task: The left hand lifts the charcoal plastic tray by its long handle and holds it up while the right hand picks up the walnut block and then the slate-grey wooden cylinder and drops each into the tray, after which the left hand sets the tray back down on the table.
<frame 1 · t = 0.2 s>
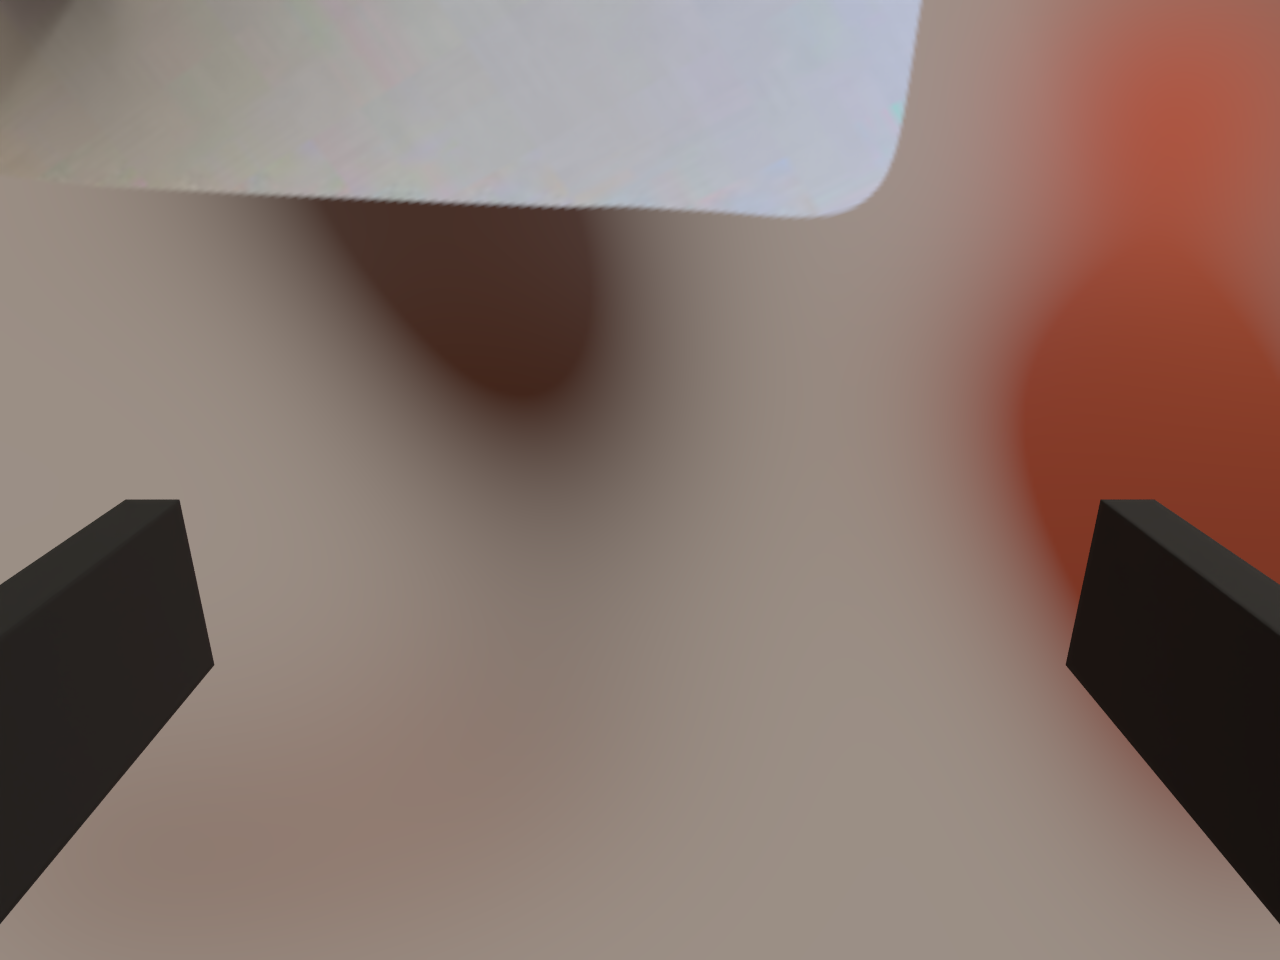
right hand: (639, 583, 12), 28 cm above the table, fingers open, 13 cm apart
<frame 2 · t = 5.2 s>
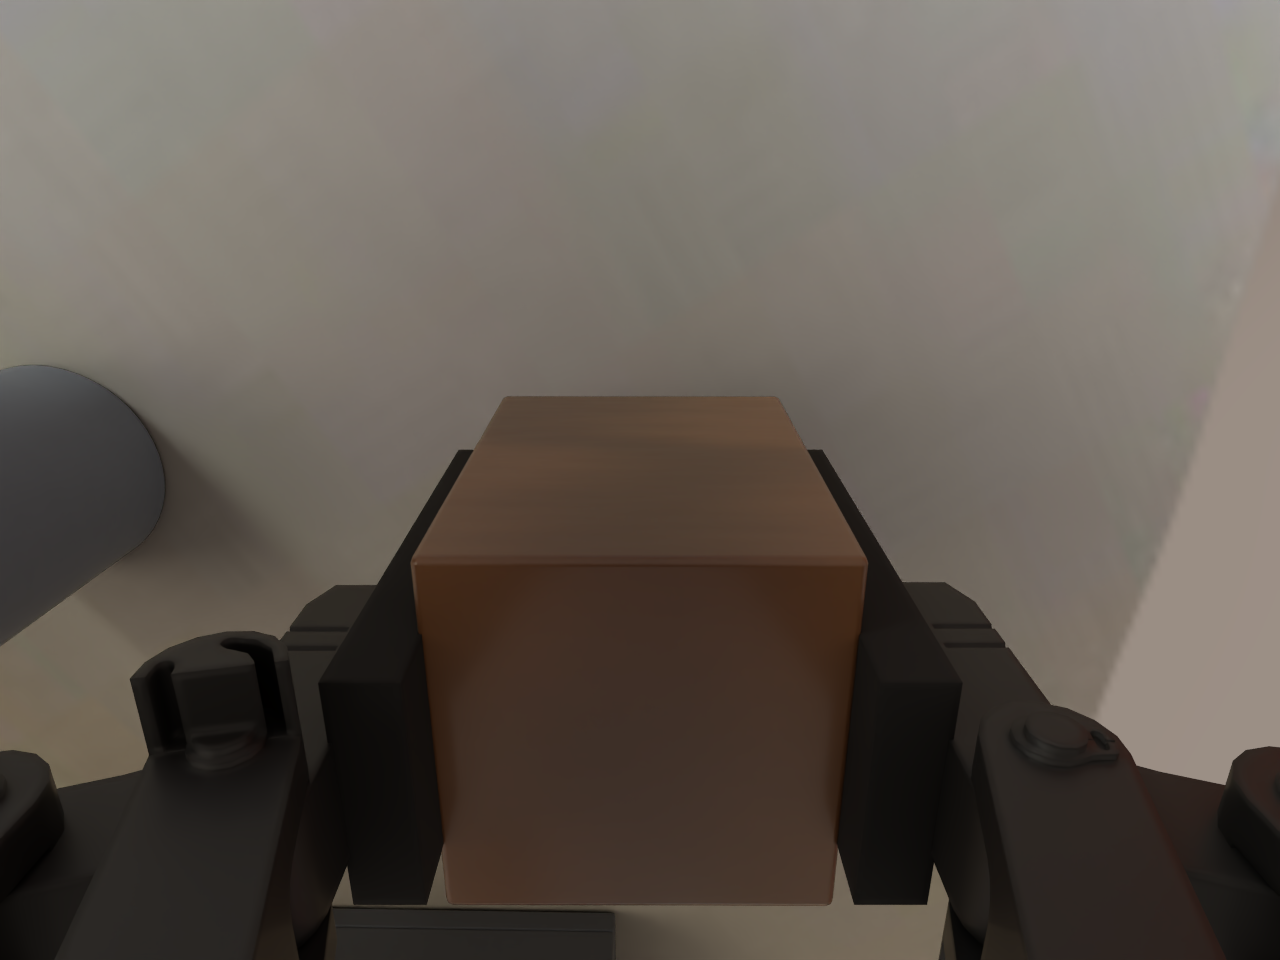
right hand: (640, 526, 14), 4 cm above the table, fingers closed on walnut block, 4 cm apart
grey cylinder: (60, 467, 18), on the table
walnut block: (640, 521, 15), point 3 cm above the table, touching right hand
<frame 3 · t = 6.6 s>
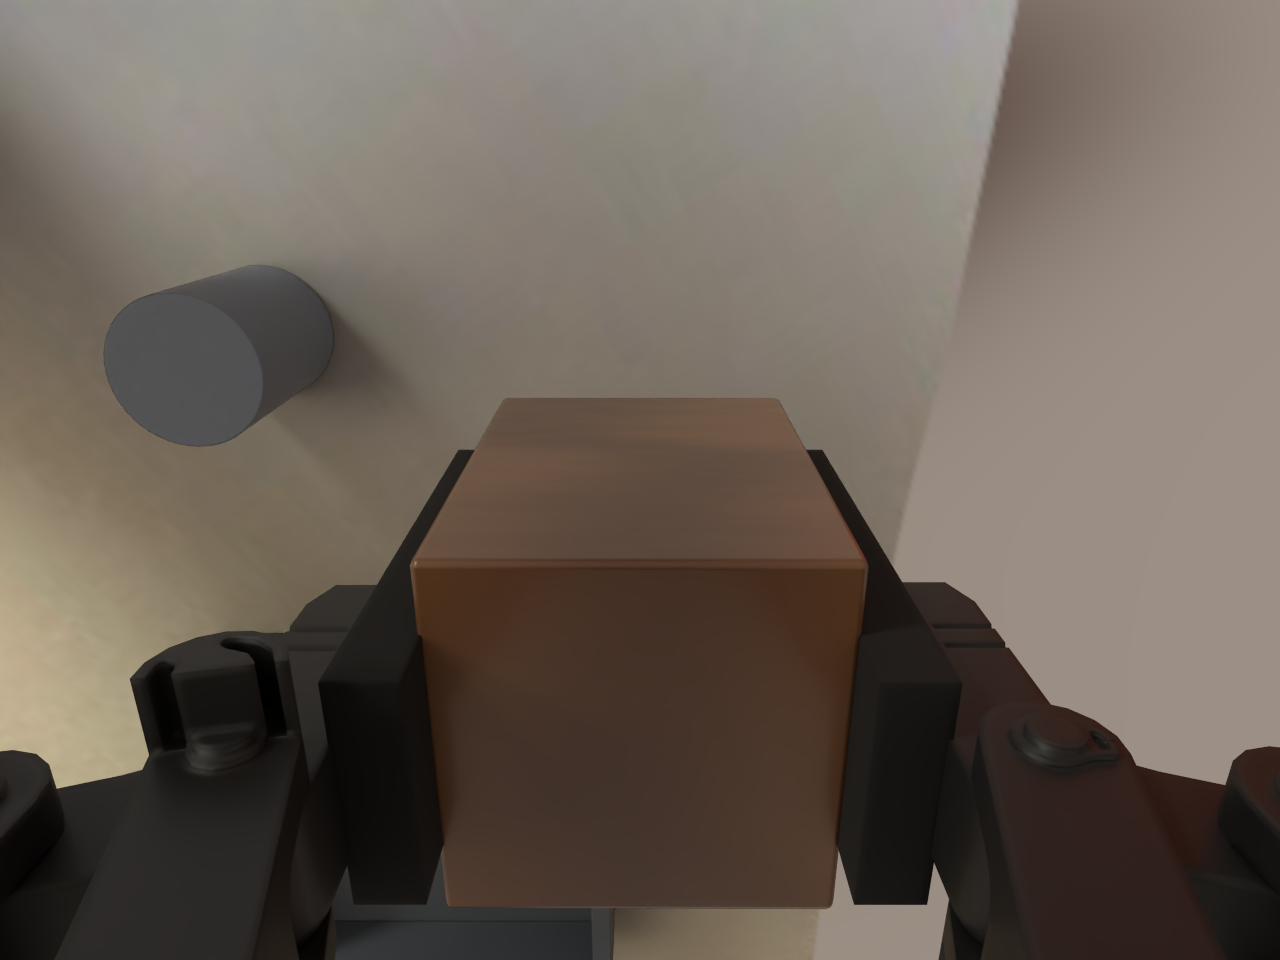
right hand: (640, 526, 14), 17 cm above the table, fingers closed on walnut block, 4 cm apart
grey cylinder: (269, 330, 30), on the table
tray: (433, 788, 37), on the table, touching left hand
walnut block: (640, 523, 15), point 16 cm above the table, touching right hand
when the right hand's fingers open (17 cm above the table, at t = 10.8 s): walnut block drops 5 cm, resting on tray.
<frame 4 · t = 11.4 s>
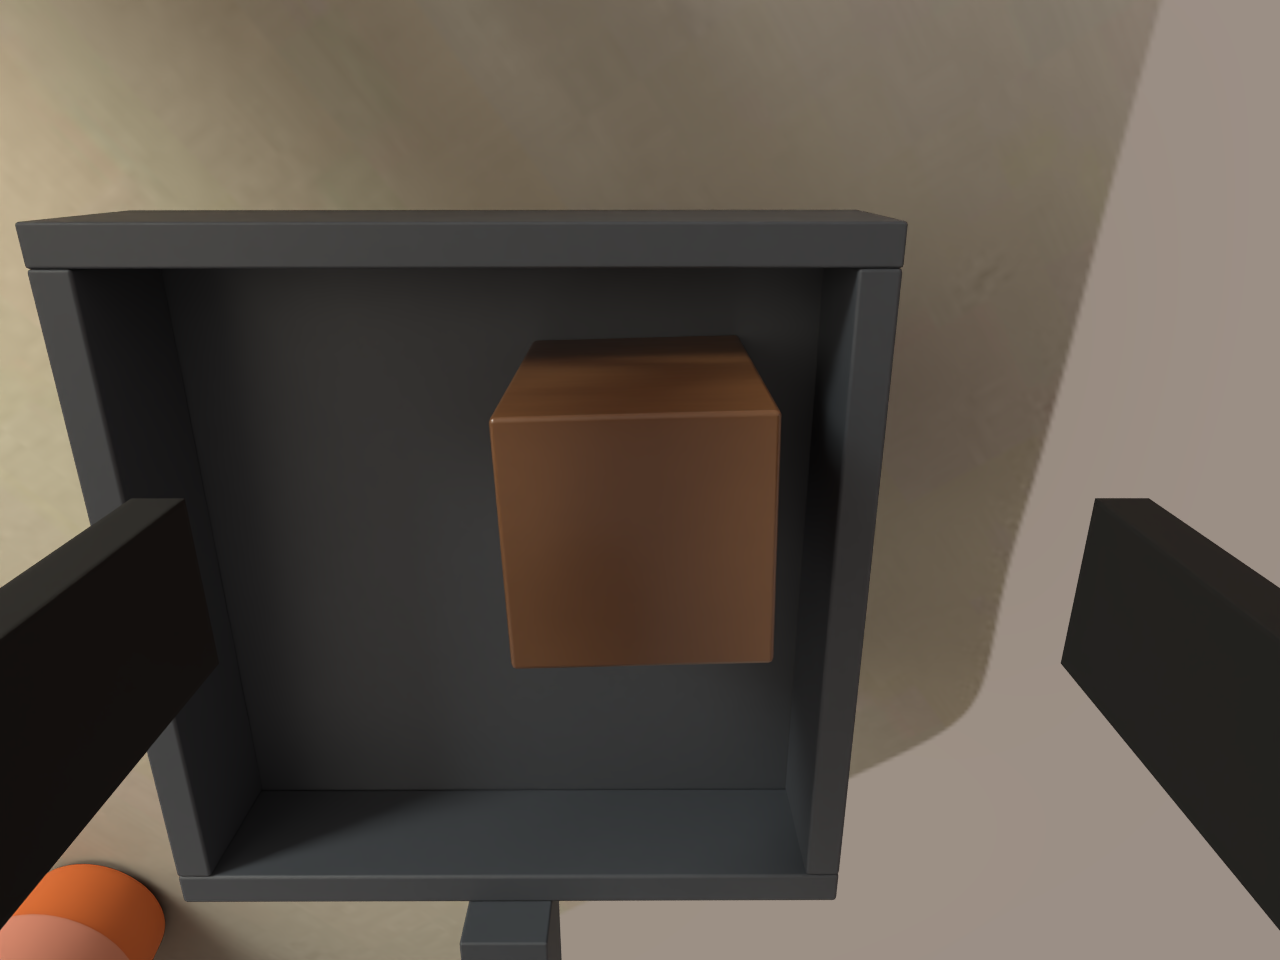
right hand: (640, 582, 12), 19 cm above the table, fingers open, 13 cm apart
cup with straw: (102, 908, 40), on the table
tray: (513, 541, 21), point 11 cm above the table, touching left hand, walnut block
walnut block: (638, 435, 19), point 11 cm above the table, touching tray
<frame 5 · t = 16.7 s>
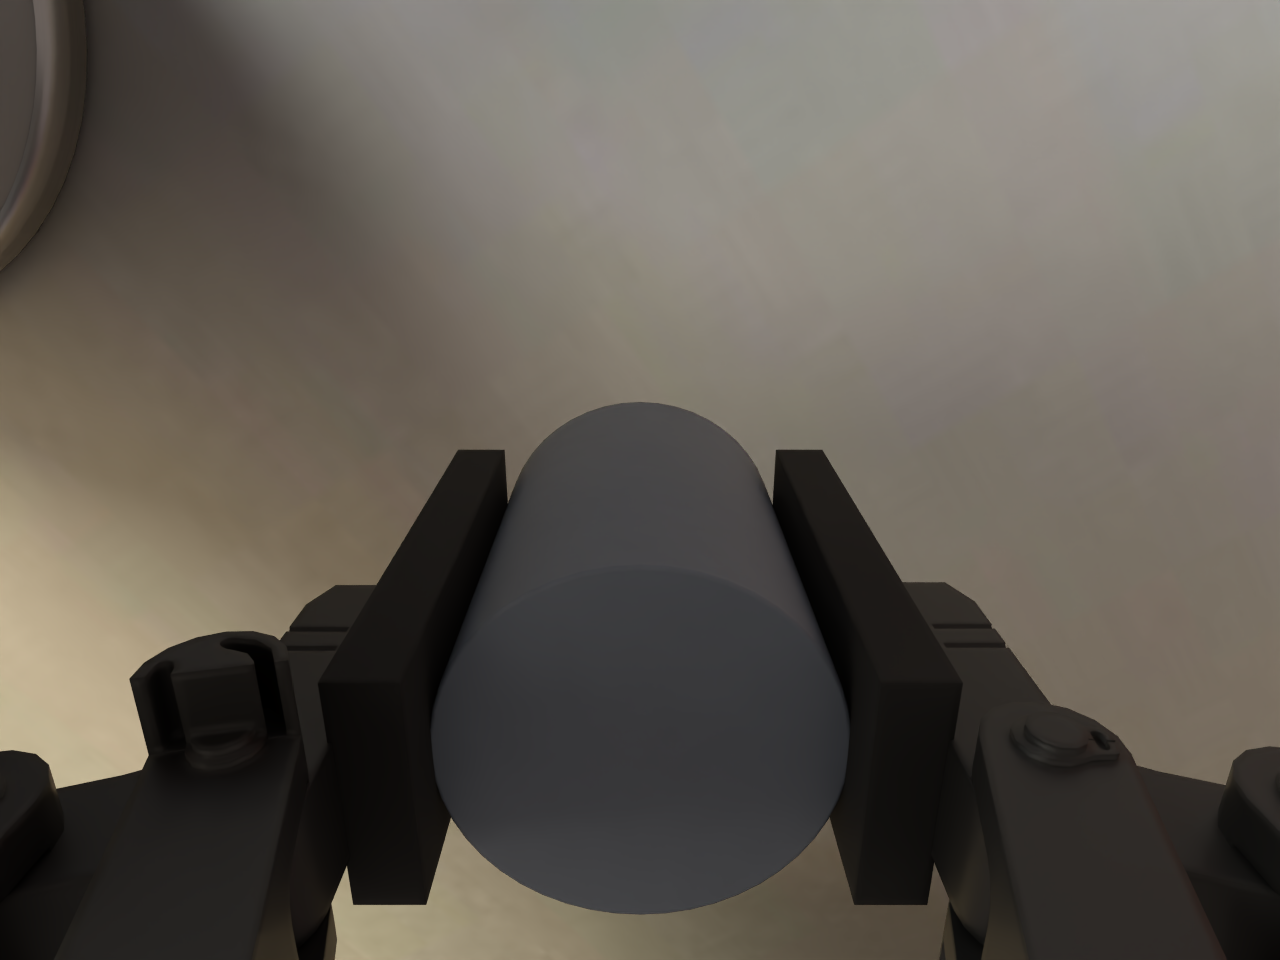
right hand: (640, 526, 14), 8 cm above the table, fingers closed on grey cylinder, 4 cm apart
grey cylinder: (639, 527, 15), point 8 cm above the table, touching right hand
when the right hand's fingers open (17 cm above the table, at t = 19.2 s): grey cylinder drops 5 cm, resting on tray.
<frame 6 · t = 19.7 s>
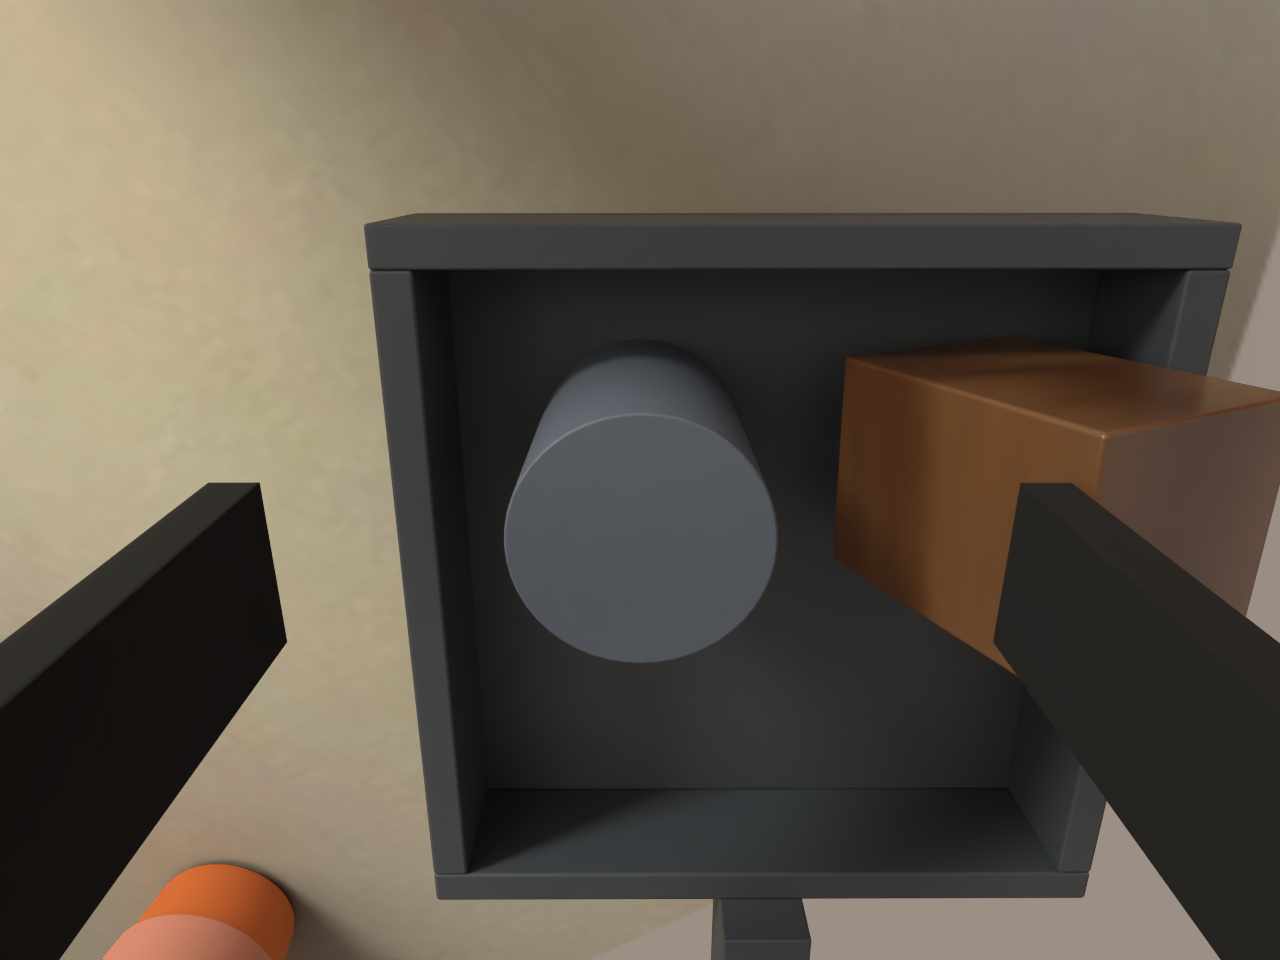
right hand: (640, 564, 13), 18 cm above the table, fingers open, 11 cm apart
cup with straw: (231, 908, 40), on the table
grey cylinder: (640, 436, 20), point 11 cm above the table, touching tray
tray: (756, 541, 21), point 11 cm above the table, touching grey cylinder, left hand, walnut block
walnut block: (921, 446, 19), point 12 cm above the table, tilted 24°, touching tray
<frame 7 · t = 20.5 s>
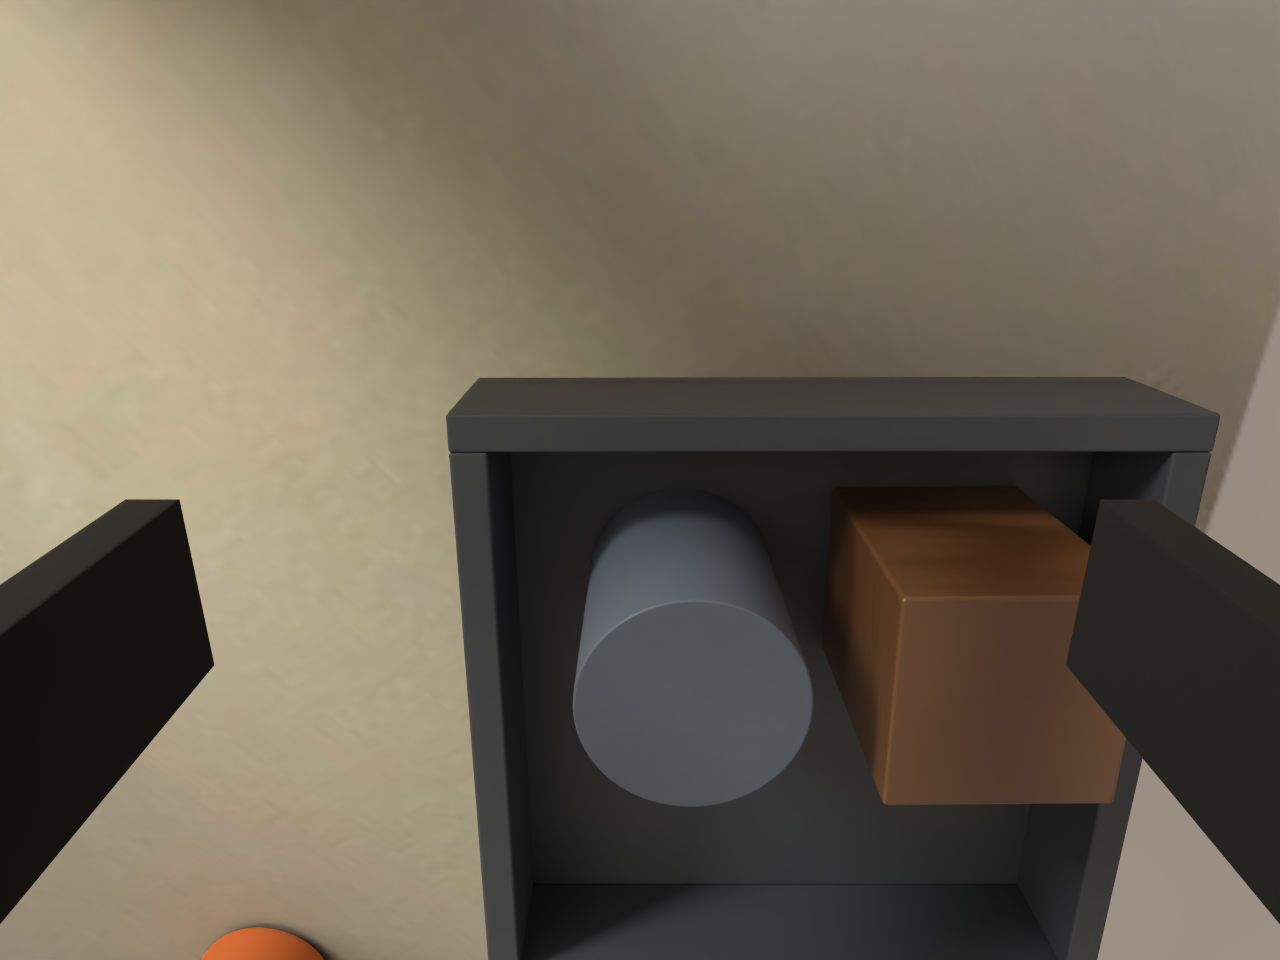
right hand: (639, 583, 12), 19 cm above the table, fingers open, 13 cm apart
grey cylinder: (679, 571, 22), point 11 cm above the table, touching tray
tray: (784, 660, 23), point 11 cm above the table, touching grey cylinder, left hand, walnut block
walnut block: (915, 569, 22), point 11 cm above the table, touching tray
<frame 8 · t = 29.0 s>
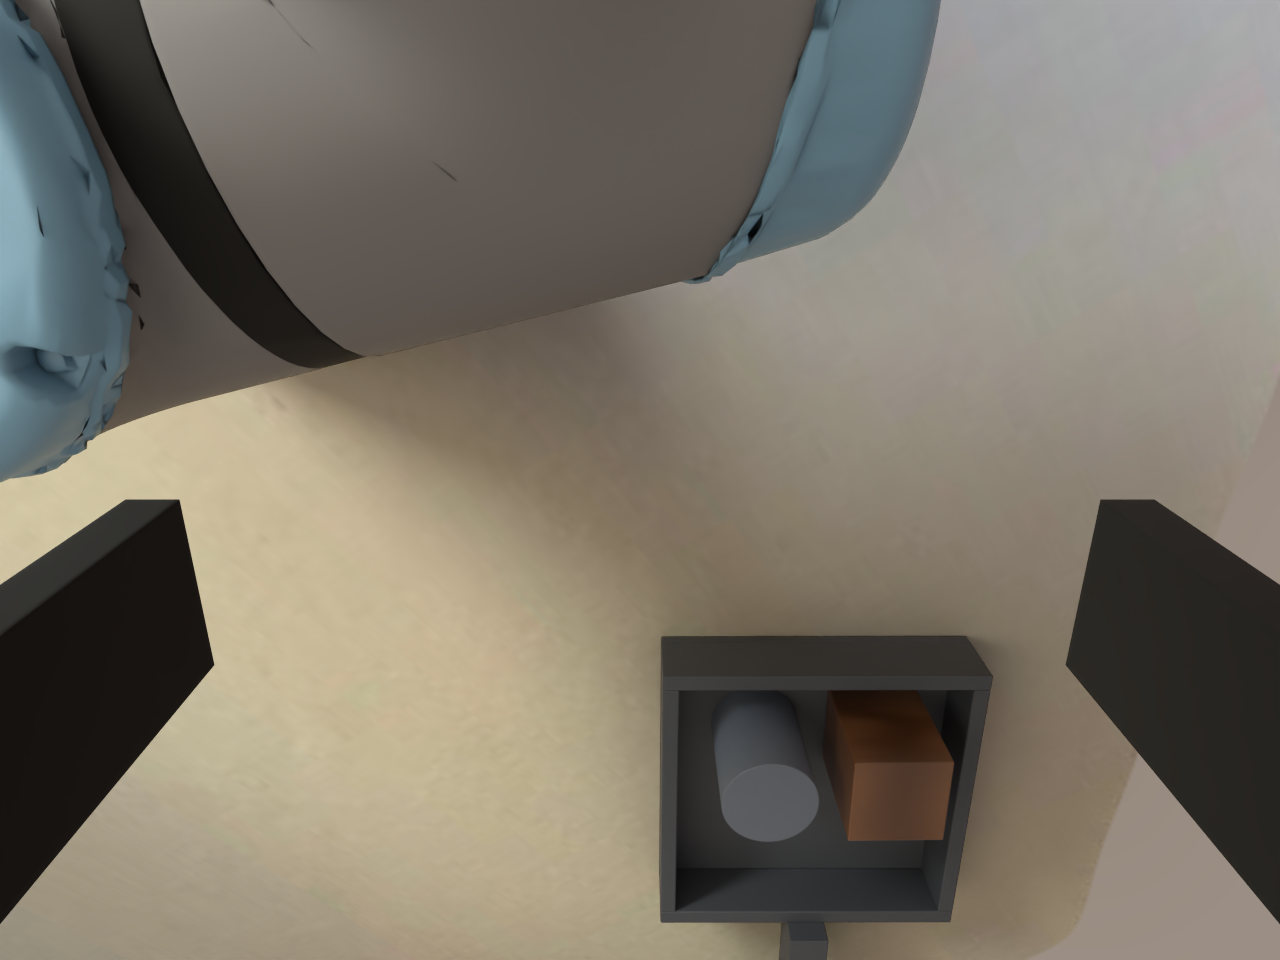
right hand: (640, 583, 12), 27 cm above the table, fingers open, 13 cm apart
grey cylinder: (754, 722, 45), point 1 cm above the table, touching tray
tray: (803, 760, 46), on the table, touching grey cylinder, walnut block
walnut block: (867, 721, 45), point 1 cm above the table, touching tray
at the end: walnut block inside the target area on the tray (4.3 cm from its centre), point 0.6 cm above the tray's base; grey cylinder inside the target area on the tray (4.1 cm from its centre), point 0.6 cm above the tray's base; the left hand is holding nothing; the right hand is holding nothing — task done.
